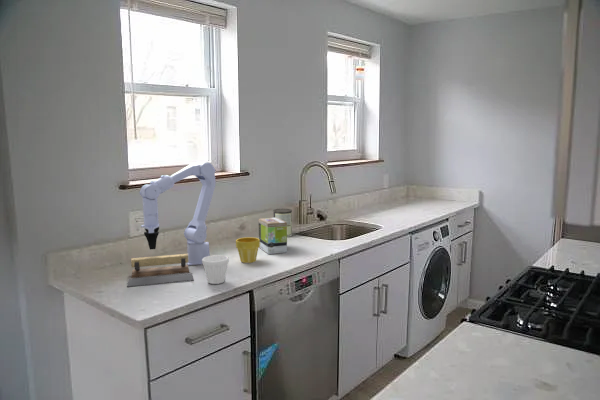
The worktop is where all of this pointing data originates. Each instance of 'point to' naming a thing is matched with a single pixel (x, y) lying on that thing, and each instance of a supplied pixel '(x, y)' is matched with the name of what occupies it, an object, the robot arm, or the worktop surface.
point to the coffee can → (285, 218)
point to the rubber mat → (160, 280)
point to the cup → (215, 268)
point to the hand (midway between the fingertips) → (152, 246)
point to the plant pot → (248, 249)
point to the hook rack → (160, 270)
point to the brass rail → (159, 260)
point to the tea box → (273, 235)
